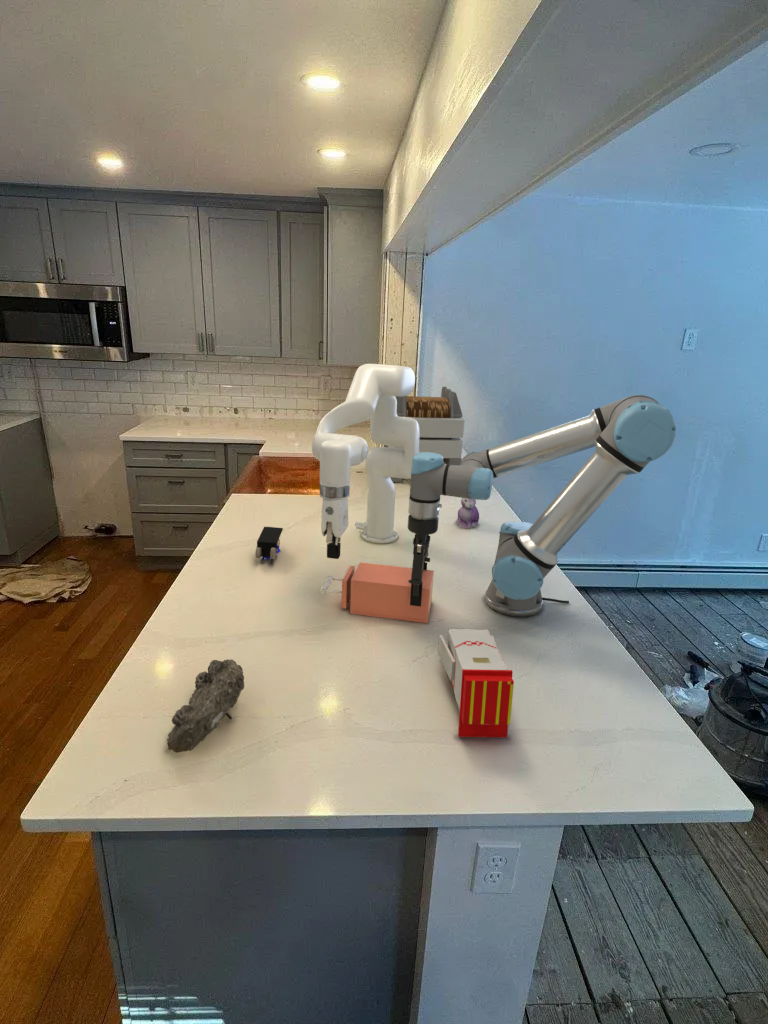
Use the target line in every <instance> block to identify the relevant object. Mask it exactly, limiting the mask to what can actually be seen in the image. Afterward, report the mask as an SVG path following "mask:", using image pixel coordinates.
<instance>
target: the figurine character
mask: <svg viewBox="0 0 768 1024" xmlns="http://www.w3.org/2000/svg"><path fill="white" fill-rule="evenodd" d="M283 529H284V528H283V527H276V526H275V527H274V526H263V528H262V530H261V532H260V535H259V537H258V539H257V541H256V548H255V552H254V558H255V559H256V560H260V564H263V563H264V561H265V560H270V561H269V564H272V563H273V562H274V560H275V559H276V558H277V557H278V554H279V553H280V552H281V549H280V546H281V539H280V538H281V535H282V533H283V531H284V530H283Z"/></svg>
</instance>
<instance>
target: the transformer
mask: <svg viewBox="0 0 768 1024" xmlns="http://www.w3.org/2000/svg"><path fill="white" fill-rule="evenodd" d="M440 393H441V394H440V396H415V395H414V396H413V395H412V396H411V395H408V396H403V397H398V396H395V397H396V400H397V415H398V416H399V417H409V418H413V419H415V420H416V421H417V422H418V424H419V430H420V439H419V453H422V452H431V453H435V454H440V455H442V456H443V461H444V464H449V465H458V466H459V465H460V463H461V461H462V459H463V458H462V453H463V442H464V441H463V440H462V439H463V438H464V431H465V430H464V429H465V419H464V418H463V411H462V408H461V405H460V402H459V398H458V395H457V392H455V391H453V390H452V389H451V388H447V386H442V387H441V392H440ZM383 447H387V448H395V449H403V448H402V447H398V446H389V445H383ZM390 478H391V480H392V482H393V483H402V482H403V478H394V477H390Z"/></svg>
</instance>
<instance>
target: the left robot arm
mask: <svg viewBox="0 0 768 1024" xmlns="http://www.w3.org/2000/svg"><path fill="white" fill-rule="evenodd" d="M415 384H416V376H415V372H414V370H413V368H411V367H410V366H405V365H404V366H403V365H395V364H380V363H364V364H362V365H360V366H359V367H358V368H357V369H356V371H355V373H354V376H353V378H352V381H351V383H350V387H349V390H348V392H347V395H346V397H345V400H344V401H343V402H342V403H340V404H339V405H337V406H335V407H334V408H332V409H331V410H330V411H328V412H327V413H326V414H325V415H324V416H323V417H322V418H321V419H320V421H319V423H318V424H317V425H318V426H317V428H316V431H315V433H314V436H313V440H312V445H311V452H312V456H313V457H314V458H315V459H316V460H317V461H319V497H320V498H321V499H322V505H321V528H320V529H321V535H322V536H323V537H326V538H325V542H326V543H325V544H326V558H327V559H333V560H339V559H340V557H341V546H342V545H341V539H342V536H343V535H344V534H345V532H346V530H347V529H348V527H349V498H350V493H351V490H350V489H351V488H350V487H351V467H355V466H359V465H361V464H362V463H363V462H365V466H366V467H365V468H366V474H367V475H366V478H367V491H366V519H365V520H366V521H364V522H362V521H355V522H354V527H355V529H356V530H361V534H360V535H361V538H362V539H363V540H364V541H366V542H368V543H373V544H389V543H393V542H395V541H397V540H398V537H399V534H398V532H397V531H396V530H395V528H394V527H395V510H396V509H395V508H396V507H395V506H396V491H397V490H396V485H395V484H394V483H395V482H392V480H391V478H390V477H394V478H402V480H403V479H404V480H406V479H407V480H411V474H410V473H411V469H412V460H413V456H415V455H416V454H417V453H419V439H420V430H419V424H418V422H417V421H416V420H415V419H413V418H409V417H399V416H398V415H397V400H396V397H395V396H398V397H403V396H410V394H411V393H412V392H413V390H414V388H415ZM368 420H369V433H370V439H371V441H372V442H373V443H374V444H378V445H381V446H374V447H372V448H370V449H369V446H368V442H367V441H366V439H364V437H361V436H358V435H350V434H342V433H336V432H337V431H340V430H341V429H344V428H347V427H351V426H354V425H358V424H360V423H363V422H366V421H368ZM384 445H389V446H398V447H402V448H403V449H395V448H387V447H384Z"/></svg>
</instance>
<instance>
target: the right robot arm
mask: <svg viewBox="0 0 768 1024" xmlns="http://www.w3.org/2000/svg"><path fill="white" fill-rule="evenodd" d="M676 435H677V426H676V423H675V420H674V417H673V414H671V412H670V410H669V409H668V408H667V407H665V405H663V404H661V403H660V402H658V400H656V399H655V398H653V397H651V396H648V395H645V394H644V395H643V394H633V395H629V396H625V397H622V398H621V399H618V400H616V401H613V402H610V403H608V404H605V405H603V406H600V407H597V408H594V409H591V412H590V413H589V415H586V416H584V417H580V418H578V419H574V420H571V421H569V422H568V421H567V422H566V423H562V424H559V425H556V426H553V427H550V428H548V429H545V430H541V431H538V432H535V433H532V434H529V435H525V436H524V437H521V438H518V439H513V440H511V441H508V442H506V443H505V442H504V443H502V444H500V445H496V446H493V447H491V448H488V449H485V450H481V451H479V450H478V451H477V450H475V451H471V452H469V453H467V454H465V456H464V457H463V458H462V461H461V463H460V465H459V466H458V465H449V464H444V461H443V456H442V455H440V454H435V453H431V452H422V453H417V454H416V455H415V456H413V460H412V469H411V473H410V474H411V479H410V481H409V482H410V483H409V484H410V486H409V497H408V509H407V510H408V514H409V515H407V517H408V518H407V530H408V531H409V532H410V533H412V534H413V533H414V537H413V540H412V544H413V548H412V555H413V558H412V567H411V568H412V576H411V580H409V583H411V596H410V605H412V606H420V607H421V597H422V584H423V582H422V576H423V569H424V570H428V563H430V562H431V557H429V548H430V543H431V535H433V534H436V533H437V532H438V530H439V515H440V509H442V508H443V504H442V503H440V502H441V496H447V497H452V498H453V497H455V498H461V499H462V498H468V499H473V500H476V501H477V500H478V501H487V500H489V499H490V497H491V494H492V489H493V482H494V481H493V480H494V479H496V478H499V477H502V476H505V475H508V474H512V473H515V472H517V471H521V470H525V469H527V468H528V469H529V468H531V467H534V466H538V465H541V464H544V463H548V462H551V461H553V460H556V459H560V458H563V457H567V456H570V455H573V454H576V453H579V452H583V451H586V450H589V449H593V448H595V450H594V452H593V453H592V454H591V455H590V457H589V458H588V459H587V460H586V461H585V463H584V464H583V465H581V467H580V468H579V469H578V471H577V472H576V473H575V474H574V476H573V477H572V478H571V479H570V480H569V481H568V483H567V484H566V485H565V486H564V487H563V488H562V490H560V492H559V493H558V494H557V495H556V496H555V498H554V499H553V500H552V501H551V502H550V504H549V505H548V506H547V507H546V508H545V510H544V511H543V512H542V513H541V514H540V515H539V517H537V519H536V520H535V521H534V523H531V522H525V521H505V522H504V523H502V524H501V525H500V529H499V532H498V534H499V536H498V537H499V538H498V543H497V544H498V545H497V550H496V554H495V559H494V563H493V566H492V568H491V575H492V579H491V581H490V582H489V585H488V587H487V589H486V591H485V598H484V601H485V603H486V605H487V606H488V607H489V608H490V609H492V610H493V611H494V612H497V613H499V614H502V615H505V616H510V617H516V618H525V617H532V616H535V615H537V614H539V613H540V612H541V611H542V609H543V601H547V602H554V603H558V604H569V603H570V601H569V600H561V599H556V598H551V597H544V596H542V591H541V589H542V587H543V585H544V579H545V578H546V577H547V575H548V574H549V573H550V572H551V571H552V570H553V569H554V568H555V566H556V565H557V564H558V563H559V560H558V554H559V552H560V551H561V550H562V549H563V548H564V546H565V545H567V543H568V542H569V541H570V540H571V539H572V538H573V536H575V534H576V533H577V532H578V531H579V530H580V529H581V528H582V527H583V525H584V524H585V523H587V521H588V520H589V519H590V518H591V517H592V515H593V514H594V513H595V512H596V511H597V510H598V509H599V508H600V507H601V505H602V504H604V502H606V500H607V499H608V498H609V497H610V496H611V494H612V493H613V492H614V491H615V490H616V489H617V488H618V487H619V485H620V484H621V483H622V482H623V481H624V480H626V478H627V477H628V476H630V475H637V474H638V475H639V474H640V473H641V472H642V471H643V470H644V469H645V468H646V467H647V466H648V465H649V464H650V462H653V461H656V460H658V459H660V458H661V457H663V456H664V455H665V454H667V452H669V450H670V449H671V447H672V446H673V445H674V442H675V440H676V437H677V436H676Z"/></svg>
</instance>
